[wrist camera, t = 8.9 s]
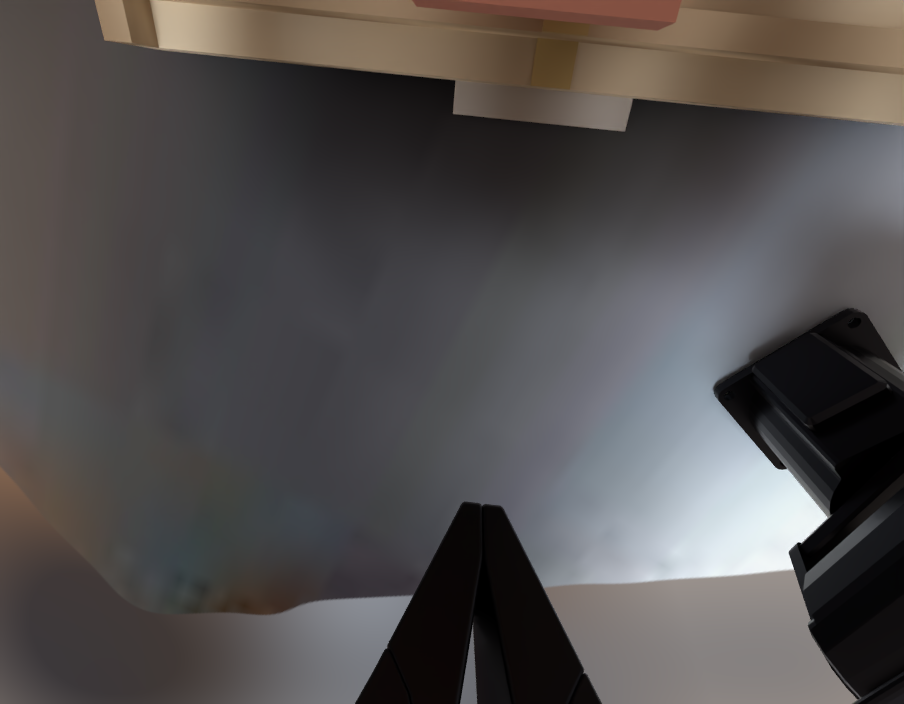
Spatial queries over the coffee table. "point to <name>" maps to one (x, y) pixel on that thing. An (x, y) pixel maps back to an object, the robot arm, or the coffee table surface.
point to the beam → (564, 53)
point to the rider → (573, 10)
